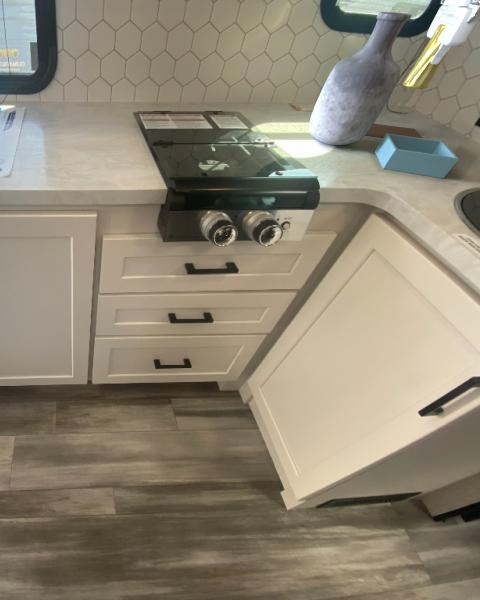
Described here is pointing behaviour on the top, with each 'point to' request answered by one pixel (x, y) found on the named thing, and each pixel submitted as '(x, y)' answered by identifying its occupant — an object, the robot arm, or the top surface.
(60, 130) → the top surface
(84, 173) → the top surface
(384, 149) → the crate
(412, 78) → the vase
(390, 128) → the mat
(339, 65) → the vase
